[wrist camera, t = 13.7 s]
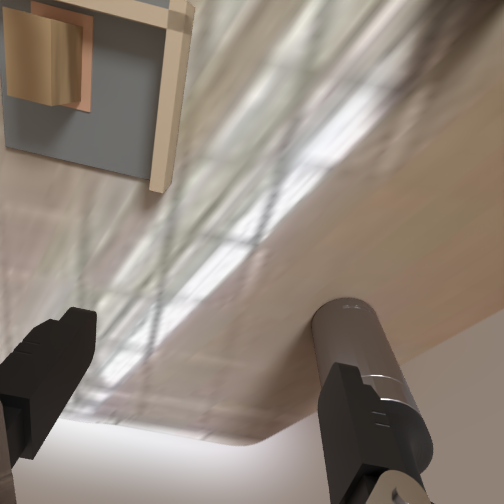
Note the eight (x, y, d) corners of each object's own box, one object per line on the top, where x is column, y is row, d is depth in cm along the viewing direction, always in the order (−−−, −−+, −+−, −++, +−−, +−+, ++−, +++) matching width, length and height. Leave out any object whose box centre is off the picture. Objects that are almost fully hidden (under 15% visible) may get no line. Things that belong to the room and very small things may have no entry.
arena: (171, 183, 44) (162, 193, 40) (8, 145, 43) (-15, 152, 39) (195, 7, 36) (187, 0, 32) (-4, -46, 35) (-35, -59, 31)
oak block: (82, 26, 36) (50, 19, 31) (80, 101, 39) (51, 106, 34) (41, 15, 36) (2, 6, 31) (43, 91, 39) (7, 95, 34)
